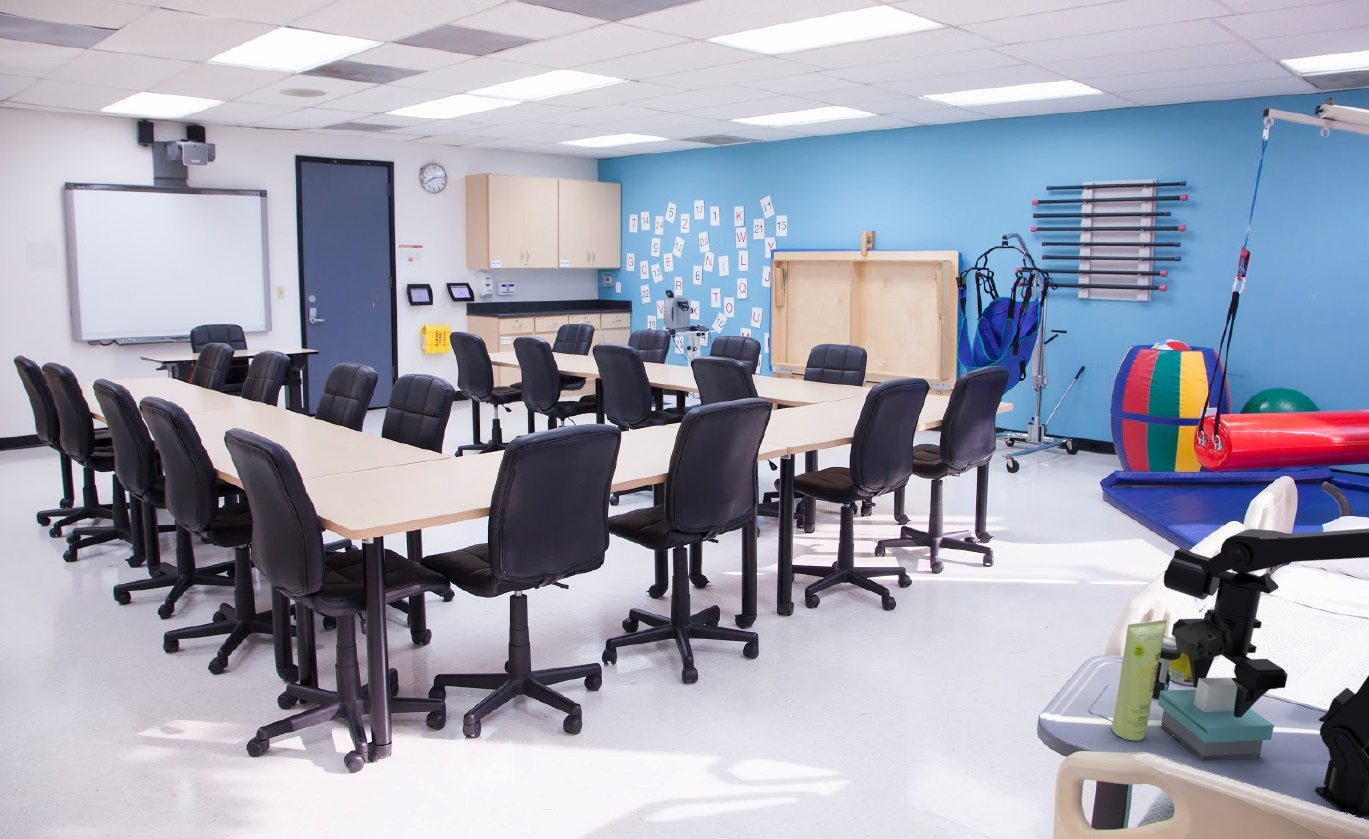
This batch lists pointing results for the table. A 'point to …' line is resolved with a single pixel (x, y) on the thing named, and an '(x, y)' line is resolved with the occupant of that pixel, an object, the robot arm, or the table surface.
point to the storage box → (1210, 749)
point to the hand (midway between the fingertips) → (1216, 701)
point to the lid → (1214, 712)
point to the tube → (1138, 678)
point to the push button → (1165, 665)
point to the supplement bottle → (1180, 670)
